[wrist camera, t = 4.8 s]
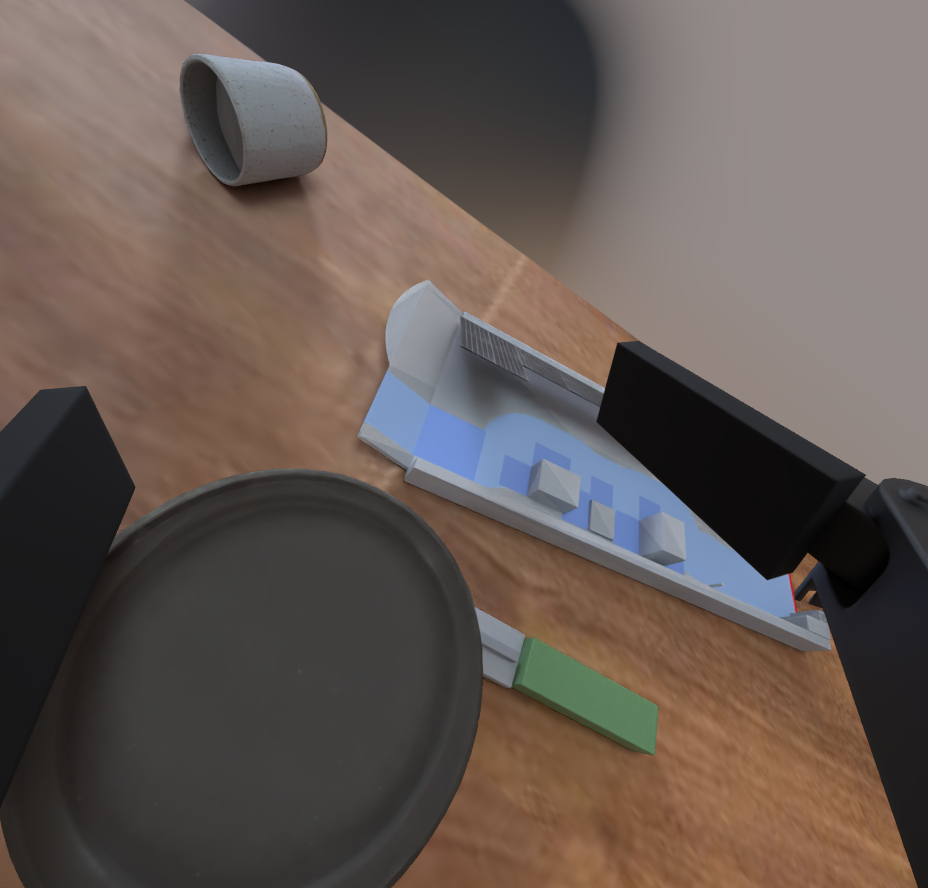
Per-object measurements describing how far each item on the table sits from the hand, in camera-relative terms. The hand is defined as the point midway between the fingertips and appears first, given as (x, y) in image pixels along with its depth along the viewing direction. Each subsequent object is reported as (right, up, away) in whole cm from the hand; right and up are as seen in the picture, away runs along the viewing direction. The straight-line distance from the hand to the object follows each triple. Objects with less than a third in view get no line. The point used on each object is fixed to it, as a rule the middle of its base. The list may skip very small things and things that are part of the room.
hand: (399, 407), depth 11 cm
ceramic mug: (-17, +23, +25) cm, 38 cm away
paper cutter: (+14, -3, +27) cm, 31 cm away
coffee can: (-8, -12, +10) cm, 18 cm away
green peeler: (+6, -16, +16) cm, 23 cm away
